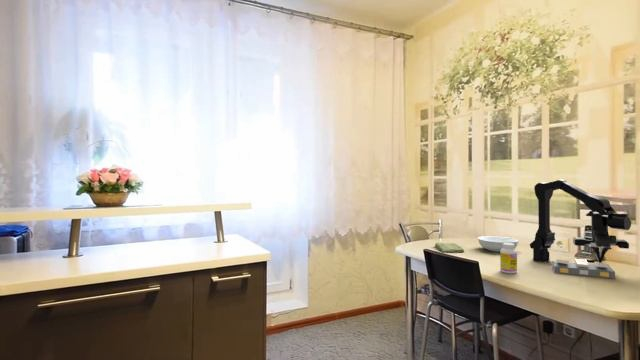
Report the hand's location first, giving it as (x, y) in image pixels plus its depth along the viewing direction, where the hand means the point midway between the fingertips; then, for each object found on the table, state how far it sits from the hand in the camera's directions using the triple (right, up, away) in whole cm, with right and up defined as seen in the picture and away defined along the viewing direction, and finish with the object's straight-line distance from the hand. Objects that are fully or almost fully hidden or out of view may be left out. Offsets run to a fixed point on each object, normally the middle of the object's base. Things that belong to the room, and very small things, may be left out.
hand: (599, 261), depth 154 cm
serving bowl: (-21, -5, +48) cm, 53 cm away
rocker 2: (-8, -1, +1) cm, 8 cm away
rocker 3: (-1, -1, -3) cm, 3 cm away
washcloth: (-47, -6, +53) cm, 71 cm away
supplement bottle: (-38, -6, +4) cm, 39 cm away
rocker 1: (-14, -1, +4) cm, 14 cm away
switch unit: (-8, -5, +1) cm, 9 cm away
